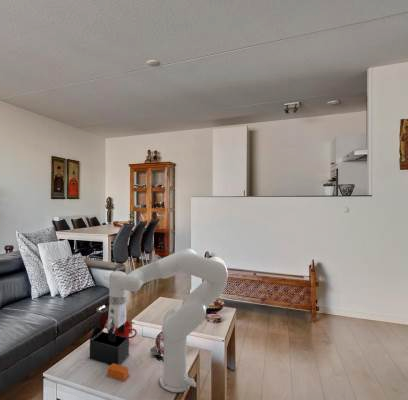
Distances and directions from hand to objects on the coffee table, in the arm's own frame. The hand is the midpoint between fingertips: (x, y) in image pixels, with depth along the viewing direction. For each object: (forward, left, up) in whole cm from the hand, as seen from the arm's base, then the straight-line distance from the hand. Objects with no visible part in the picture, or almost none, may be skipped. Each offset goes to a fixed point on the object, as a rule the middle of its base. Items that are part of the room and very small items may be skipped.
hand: (116, 337), depth 140 cm
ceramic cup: (+11, -29, -17) cm, 35 cm away
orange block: (-1, +1, -17) cm, 17 cm away
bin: (+10, -12, -17) cm, 23 cm away
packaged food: (-13, -27, -17) cm, 34 cm away
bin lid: (+14, -12, 0) cm, 18 cm away
